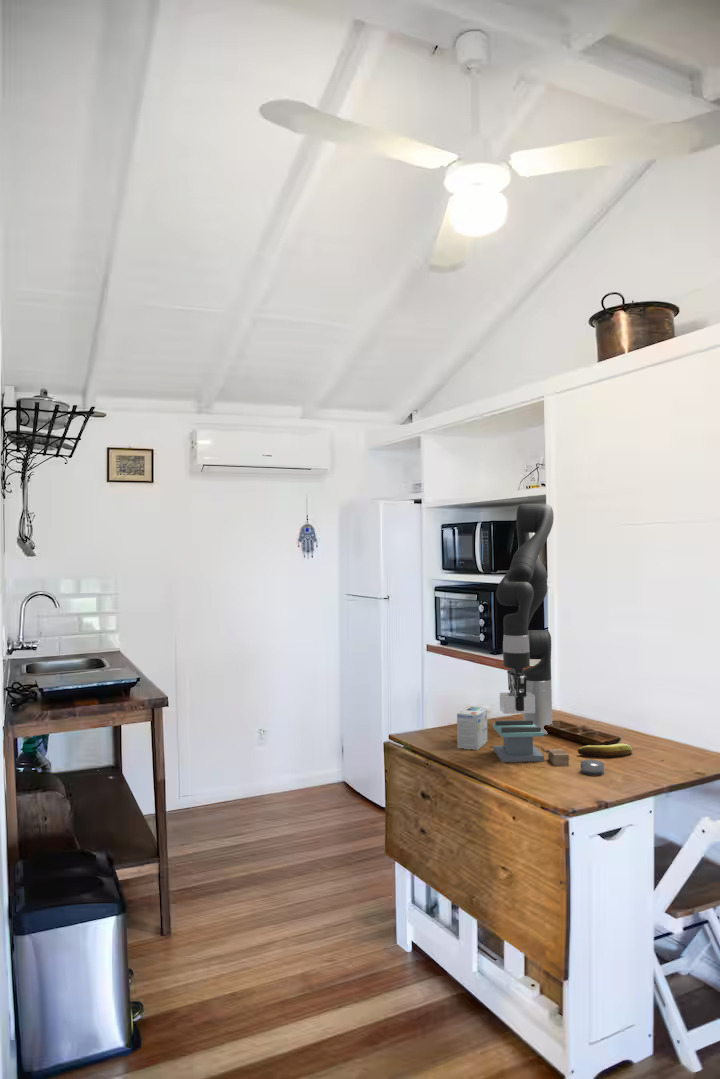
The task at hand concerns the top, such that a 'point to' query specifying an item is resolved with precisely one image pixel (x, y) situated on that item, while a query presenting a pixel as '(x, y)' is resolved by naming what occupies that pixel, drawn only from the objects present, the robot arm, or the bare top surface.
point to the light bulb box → (472, 728)
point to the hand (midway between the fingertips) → (517, 708)
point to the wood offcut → (558, 757)
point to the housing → (510, 703)
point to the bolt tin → (592, 767)
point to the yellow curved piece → (604, 750)
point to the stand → (517, 741)
